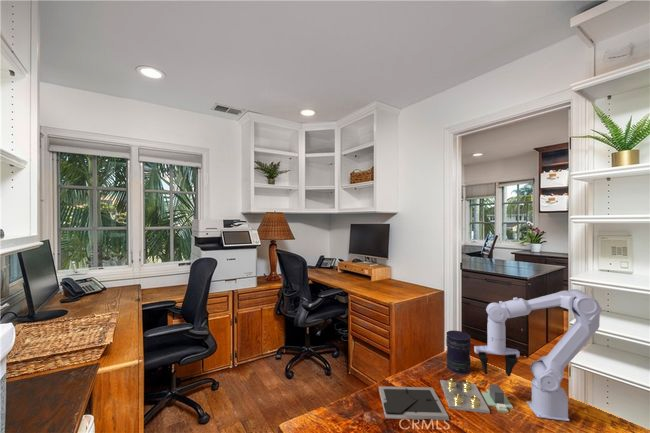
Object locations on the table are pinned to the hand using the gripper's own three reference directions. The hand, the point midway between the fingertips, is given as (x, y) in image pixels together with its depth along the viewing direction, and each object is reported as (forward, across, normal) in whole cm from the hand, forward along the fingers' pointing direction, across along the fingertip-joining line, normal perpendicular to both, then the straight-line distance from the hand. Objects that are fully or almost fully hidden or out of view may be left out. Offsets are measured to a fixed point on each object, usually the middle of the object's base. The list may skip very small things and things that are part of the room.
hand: (496, 373), depth 104 cm
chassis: (+10, +11, 0) cm, 15 cm away
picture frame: (+11, +31, +8) cm, 34 cm away
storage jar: (+10, +8, -21) cm, 25 cm away
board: (+10, 0, 0) cm, 10 cm away
